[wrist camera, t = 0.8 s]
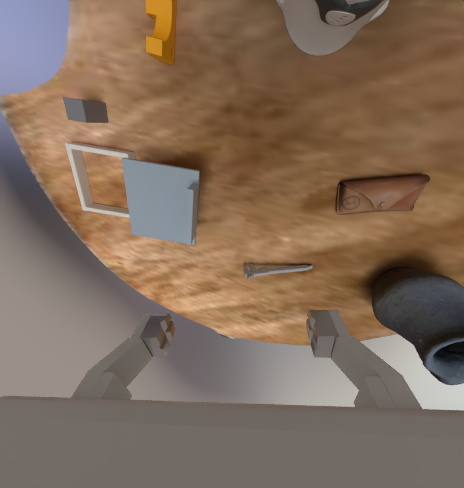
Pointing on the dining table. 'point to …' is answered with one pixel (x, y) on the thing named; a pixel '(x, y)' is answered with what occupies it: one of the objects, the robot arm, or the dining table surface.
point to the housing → (82, 180)
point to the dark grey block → (85, 110)
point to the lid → (162, 200)
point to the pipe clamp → (162, 30)
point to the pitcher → (425, 317)
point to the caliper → (272, 270)
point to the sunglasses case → (380, 194)
